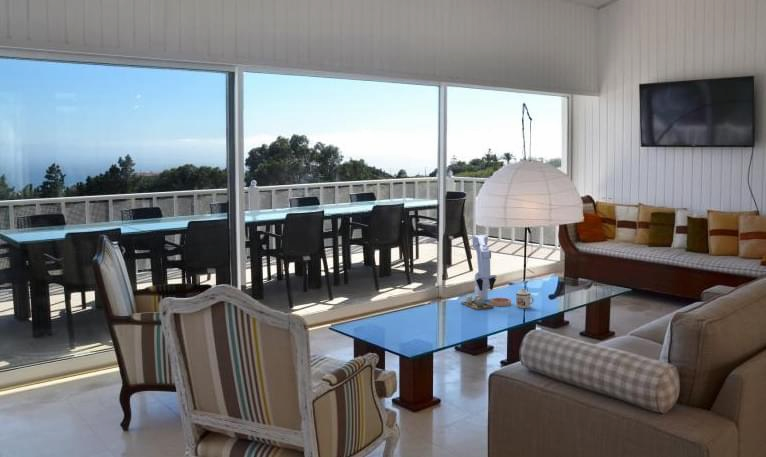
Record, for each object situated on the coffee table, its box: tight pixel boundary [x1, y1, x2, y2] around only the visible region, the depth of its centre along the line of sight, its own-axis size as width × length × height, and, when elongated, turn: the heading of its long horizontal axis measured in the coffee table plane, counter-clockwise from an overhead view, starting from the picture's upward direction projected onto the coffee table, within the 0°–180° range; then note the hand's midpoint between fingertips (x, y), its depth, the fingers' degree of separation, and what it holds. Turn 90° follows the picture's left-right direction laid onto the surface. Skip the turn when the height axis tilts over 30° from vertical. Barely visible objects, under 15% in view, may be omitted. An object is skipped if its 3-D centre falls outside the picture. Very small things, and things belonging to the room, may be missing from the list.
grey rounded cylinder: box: [477, 298, 485, 308], centre depth 448 cm, size 4×4×6 cm
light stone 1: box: [465, 295, 473, 305], centre depth 455 cm, size 4×4×6 cm
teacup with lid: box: [515, 288, 535, 309], centre depth 448 cm, size 12×9×12 cm
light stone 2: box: [473, 294, 480, 305], centre depth 457 cm, size 4×4×6 cm
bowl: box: [489, 297, 512, 307], centre depth 456 cm, size 13×13×3 cm
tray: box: [460, 300, 495, 311], centre depth 452 cm, size 20×13×2 cm, turn 23°
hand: (486, 290), depth 456 cm, fingers open, 7 cm apart
